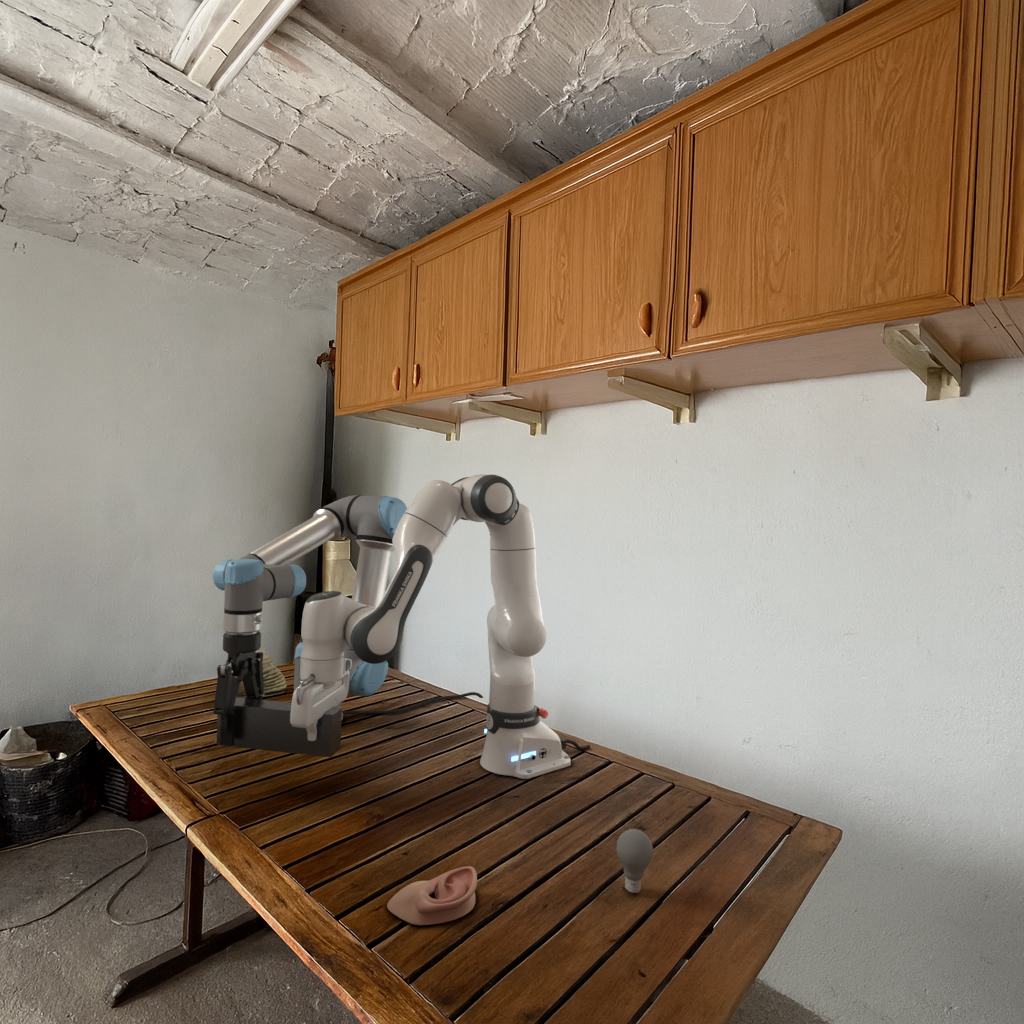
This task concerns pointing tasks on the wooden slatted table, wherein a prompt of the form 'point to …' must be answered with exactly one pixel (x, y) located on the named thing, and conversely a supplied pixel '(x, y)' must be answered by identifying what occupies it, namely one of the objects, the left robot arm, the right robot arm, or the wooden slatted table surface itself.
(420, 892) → the anatomical model
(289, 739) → the bar
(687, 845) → the wooden slatted table surface
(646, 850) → the light bulb
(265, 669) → the fossil
